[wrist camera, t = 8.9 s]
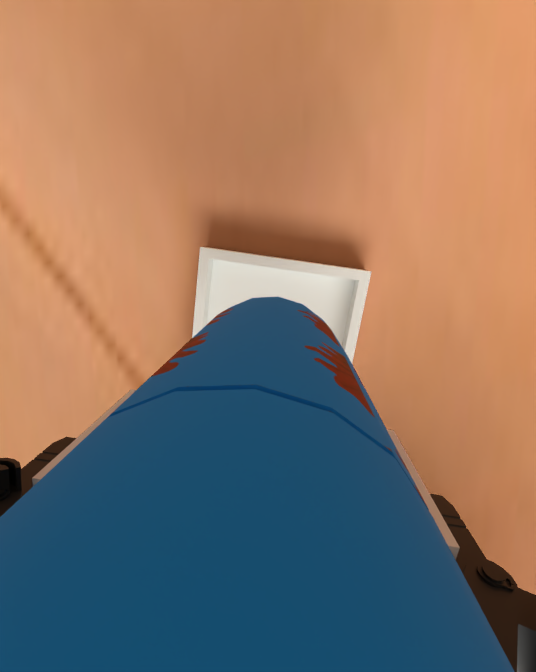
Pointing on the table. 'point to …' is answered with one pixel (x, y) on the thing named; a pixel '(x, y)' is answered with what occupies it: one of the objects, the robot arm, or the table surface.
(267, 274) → the tray
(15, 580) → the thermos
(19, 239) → the table surface
